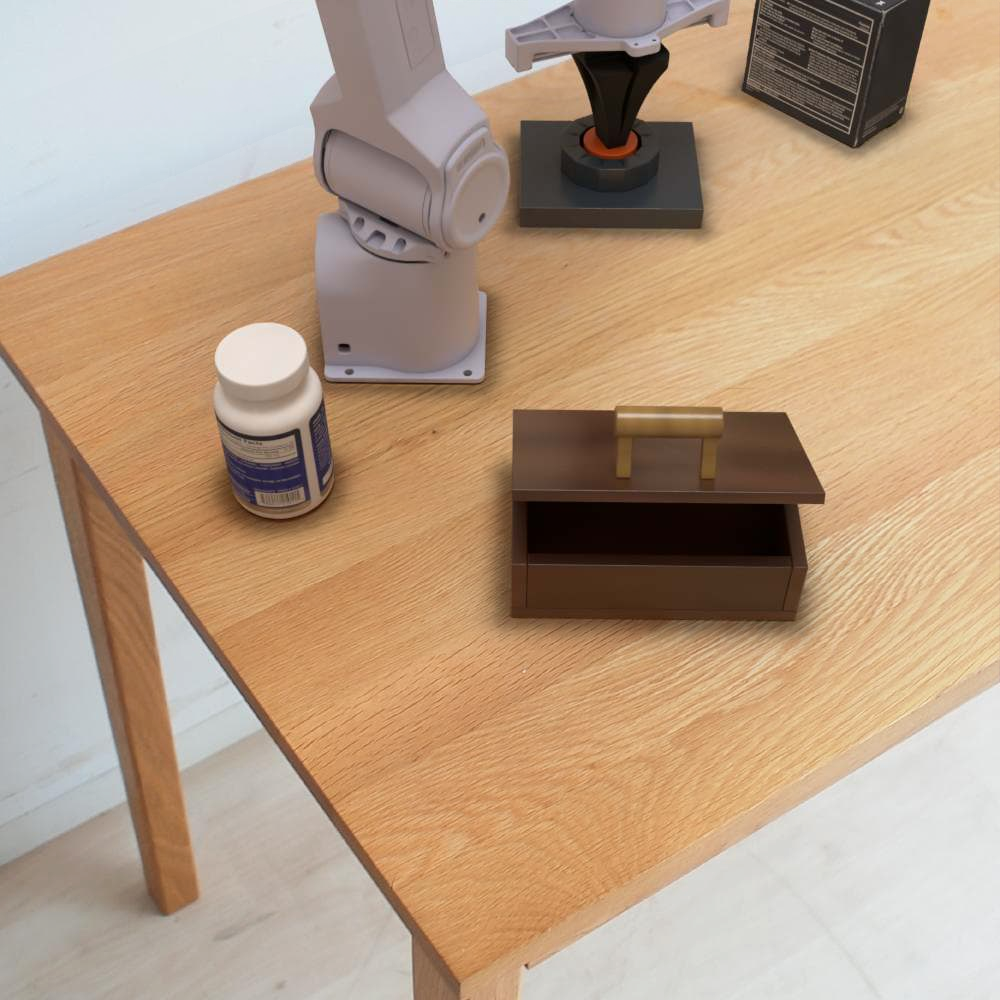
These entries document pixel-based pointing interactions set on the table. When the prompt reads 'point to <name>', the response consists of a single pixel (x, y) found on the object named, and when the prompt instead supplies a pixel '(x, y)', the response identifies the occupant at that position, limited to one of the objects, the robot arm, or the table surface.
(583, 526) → the compartment
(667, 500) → the lid
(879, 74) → the small box
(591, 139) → the button
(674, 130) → the control block
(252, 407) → the pill bottle
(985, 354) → the table surface
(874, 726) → the table surface
